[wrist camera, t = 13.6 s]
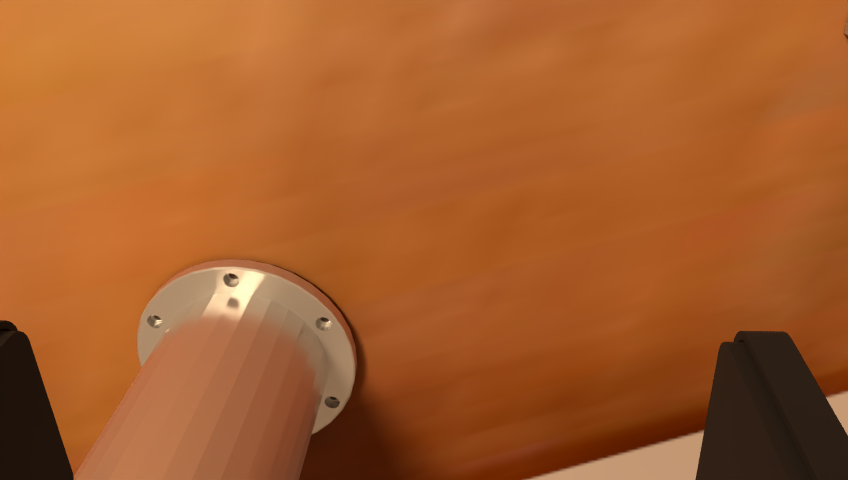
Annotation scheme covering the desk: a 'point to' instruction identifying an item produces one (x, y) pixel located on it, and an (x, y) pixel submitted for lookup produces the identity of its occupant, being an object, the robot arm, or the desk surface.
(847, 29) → the base board
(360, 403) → the desk surface
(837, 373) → the desk surface
